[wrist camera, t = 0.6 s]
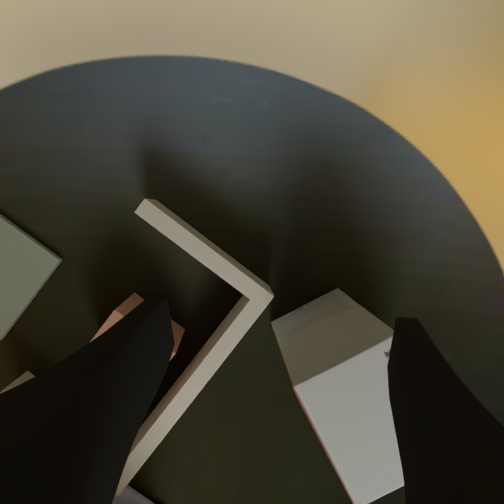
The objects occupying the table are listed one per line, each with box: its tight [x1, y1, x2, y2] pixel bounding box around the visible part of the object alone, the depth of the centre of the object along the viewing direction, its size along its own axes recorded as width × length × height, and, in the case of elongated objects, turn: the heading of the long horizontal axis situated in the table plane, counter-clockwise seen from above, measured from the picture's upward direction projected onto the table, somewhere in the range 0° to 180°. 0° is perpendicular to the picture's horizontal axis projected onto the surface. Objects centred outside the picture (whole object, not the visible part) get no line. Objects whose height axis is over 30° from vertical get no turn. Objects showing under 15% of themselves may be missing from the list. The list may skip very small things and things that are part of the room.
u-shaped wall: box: [0, 198, 274, 496], centre depth 33 cm, size 18×11×4 cm, turn 142°
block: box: [90, 293, 185, 360], centre depth 32 cm, size 4×5×6 cm
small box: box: [271, 288, 404, 504], centre depth 29 cm, size 8×6×13 cm
